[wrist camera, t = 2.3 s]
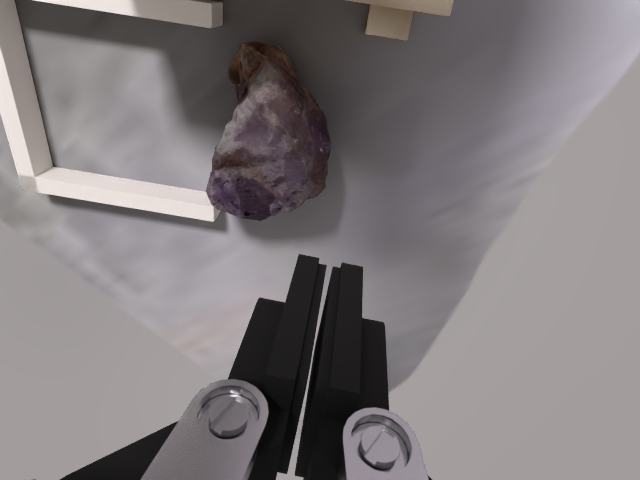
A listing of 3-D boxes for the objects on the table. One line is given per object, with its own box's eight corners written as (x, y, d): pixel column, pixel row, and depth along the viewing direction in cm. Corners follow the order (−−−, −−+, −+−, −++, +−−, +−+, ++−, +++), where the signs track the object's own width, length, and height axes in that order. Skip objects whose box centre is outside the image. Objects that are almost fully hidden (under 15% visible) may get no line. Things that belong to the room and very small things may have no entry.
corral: (-13, -35, 30) (-42, -36, 28) (222, 2, 30) (211, 3, 28) (41, 178, 39) (22, 189, 37) (222, 208, 39) (213, 221, 37)
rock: (215, 154, 37) (318, 195, 38) (172, 208, 31) (297, 256, 32) (240, 21, 30) (368, 76, 31) (191, 56, 23) (355, 124, 24)
